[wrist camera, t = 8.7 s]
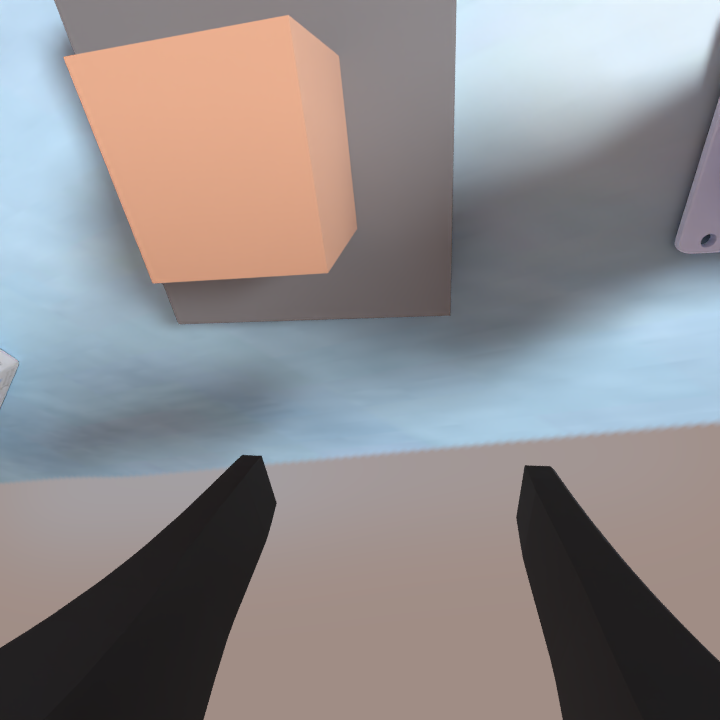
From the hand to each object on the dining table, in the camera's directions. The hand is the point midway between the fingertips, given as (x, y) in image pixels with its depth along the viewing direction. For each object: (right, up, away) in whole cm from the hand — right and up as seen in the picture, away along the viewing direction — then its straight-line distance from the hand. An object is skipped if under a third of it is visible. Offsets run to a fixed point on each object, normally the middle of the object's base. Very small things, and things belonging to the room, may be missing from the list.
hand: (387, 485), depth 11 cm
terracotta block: (-4, +10, +2) cm, 11 cm away
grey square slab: (-3, +12, +6) cm, 14 cm away
